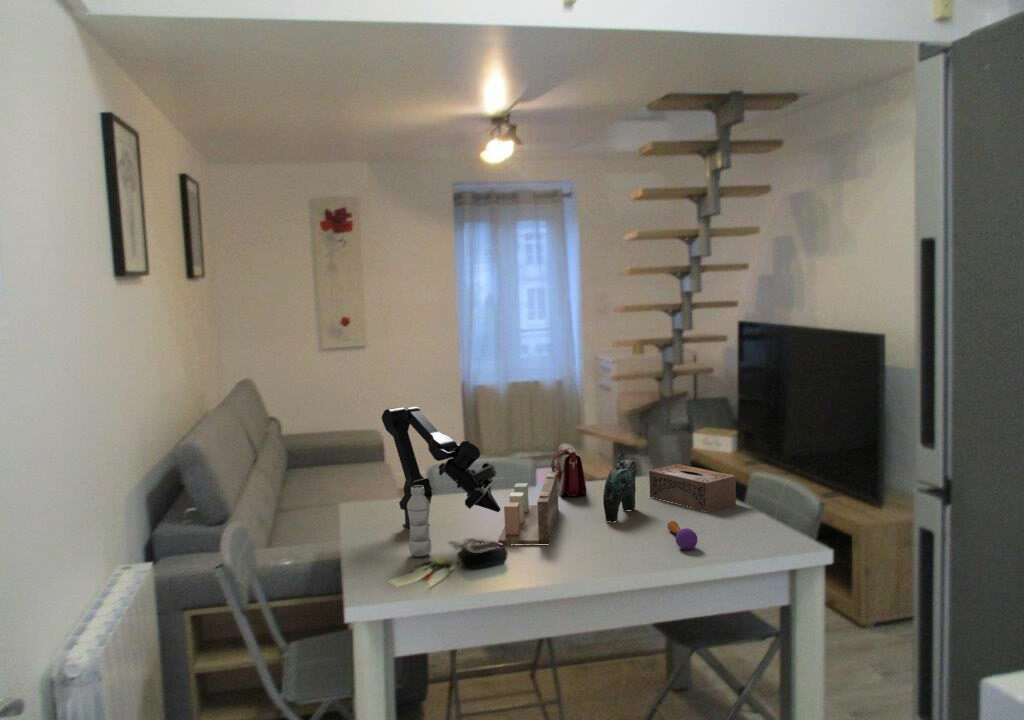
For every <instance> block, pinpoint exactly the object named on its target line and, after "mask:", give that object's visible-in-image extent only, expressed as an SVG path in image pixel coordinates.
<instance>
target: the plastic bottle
mask: <svg viewBox="0 0 1024 720" xmlns="http://www.w3.org/2000/svg"><path fill="white" fill-rule="evenodd" d="M424 493H425V491H424V486H421V485H417V486H412V487H411V494H412V496H411V498H410V499H409V501H408V504H407V509H408V515H409V521H410V529H409V540H408V550H409V554H410V555H411V556H413V557H419V558H420V557H427V556H428V555H430V554H431V553H432V549H433V544H432V541H431V540H432V539H431V535H430V526H429V524H430V521H429V520H430V511H431V509H430V508H431V502H430V503H429V501H428V499H427V498H426V497H425V496H424Z"/></svg>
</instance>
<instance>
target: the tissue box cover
mask: <svg viewBox="0 0 1024 720" xmlns="http://www.w3.org/2000/svg"><path fill="white" fill-rule="evenodd" d="M648 471H649V472H648V475H649V479H648V480H649V498H650V497H654V498H657V499H661V500H665V501H669V502H673V503H677V504H681V505H684V506H688V507H692V508H695V509H699V510H703V511H706V512H707V513H709V512H708V511H711V512H713V511H712V510H715V511H717V510H716V509H718V510H721V509H720V508H722V509H724V508H723V507H725V508H729V507H732V506H735V505H737V492H736V491H737V487H736V485H737V483H736V475H734V474H729V473H723V472H718V471H713V470H709V469H703V468H698V467H694V466H693V467H692V466H688V465H685V464H679V463H677V464H673V465H667V466H665V467H664V466H662V467H658V468H654V469H649V470H648ZM657 499H656V500H657ZM731 505H732V506H731ZM728 506H729V507H728ZM695 509H694V510H695ZM699 510H698V511H699ZM706 512H705V513H706Z"/></svg>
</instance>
